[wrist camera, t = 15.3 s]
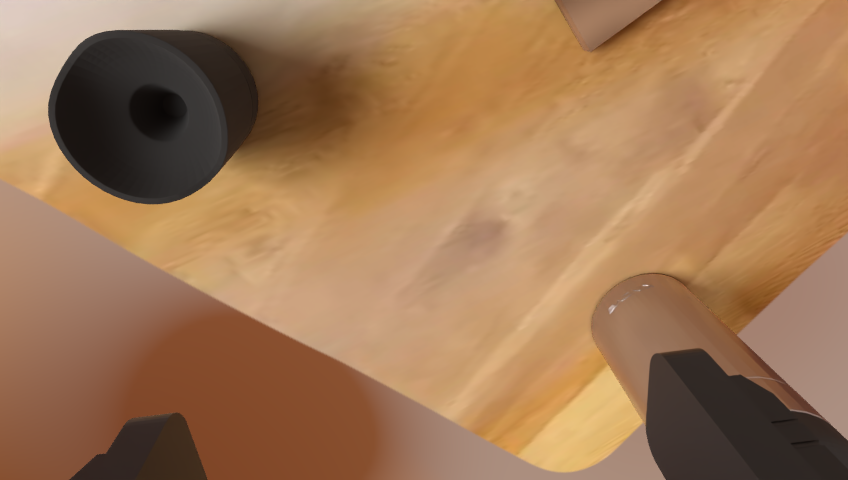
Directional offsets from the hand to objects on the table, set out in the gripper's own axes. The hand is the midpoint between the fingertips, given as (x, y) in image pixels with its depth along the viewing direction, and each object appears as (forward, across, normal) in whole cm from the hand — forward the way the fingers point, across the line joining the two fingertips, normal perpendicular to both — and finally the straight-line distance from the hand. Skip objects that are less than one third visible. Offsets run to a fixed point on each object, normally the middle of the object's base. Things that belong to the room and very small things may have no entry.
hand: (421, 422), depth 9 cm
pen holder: (+33, +14, -2) cm, 36 cm away
